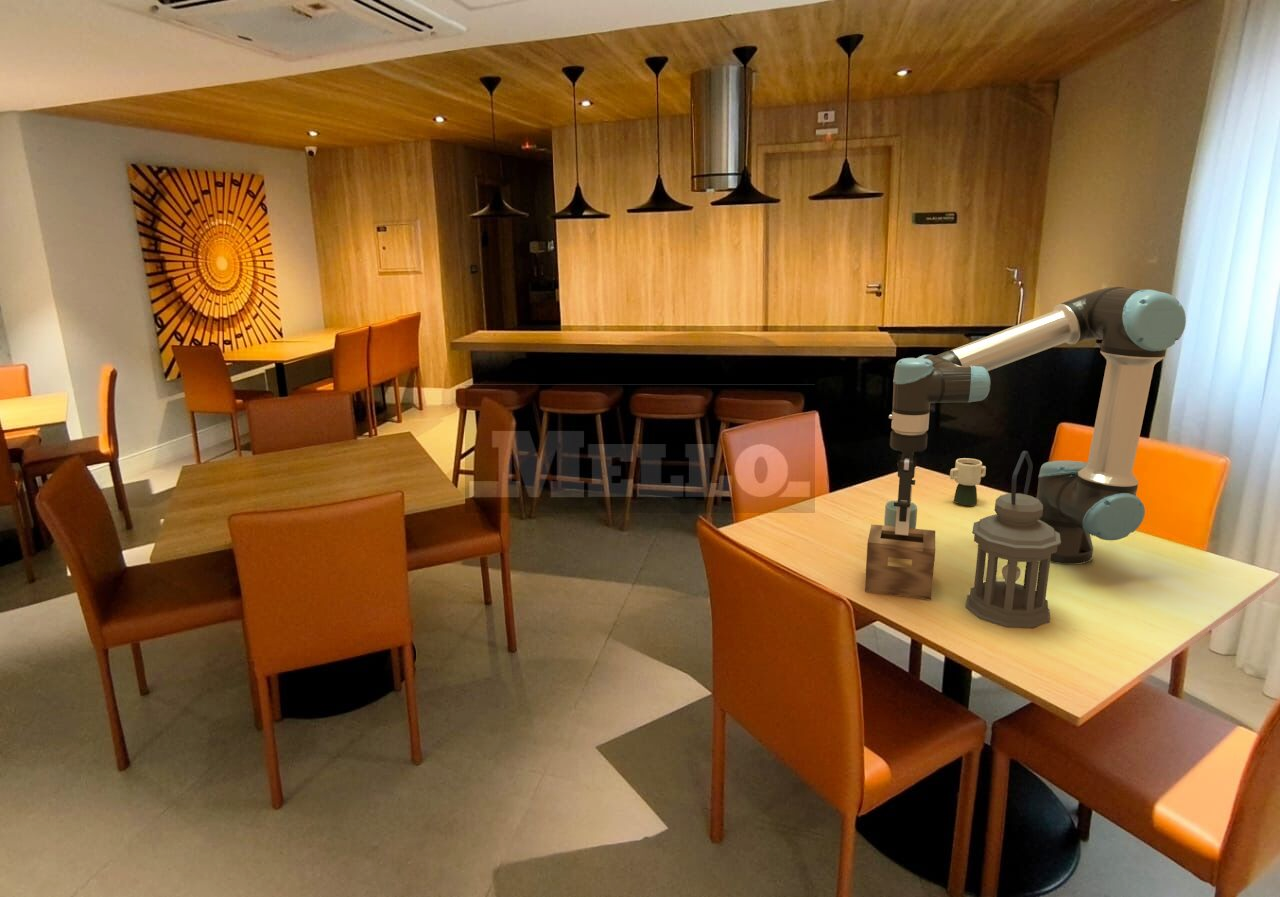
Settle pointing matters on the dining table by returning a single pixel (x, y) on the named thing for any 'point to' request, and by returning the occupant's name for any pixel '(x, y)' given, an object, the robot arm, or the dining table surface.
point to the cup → (891, 514)
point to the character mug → (967, 480)
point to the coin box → (900, 562)
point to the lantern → (1013, 560)
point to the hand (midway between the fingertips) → (902, 523)
